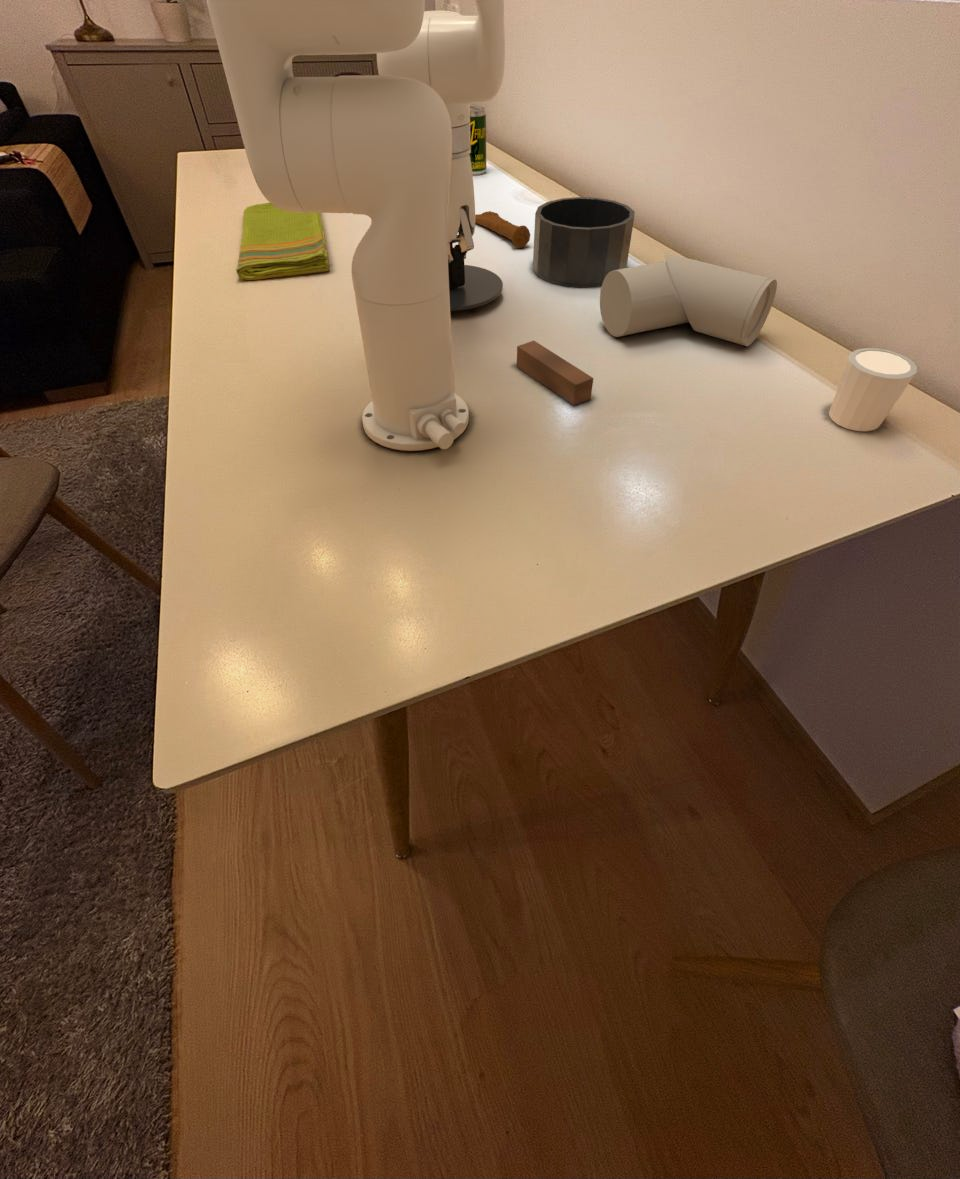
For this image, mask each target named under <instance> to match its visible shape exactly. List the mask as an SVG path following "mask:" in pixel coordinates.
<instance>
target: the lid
mask: <svg viewBox="0 0 960 1179" xmlns="http://www.w3.org/2000/svg"><path fill="white" fill-rule="evenodd" d="M464 268H465V284H464V286H461V287H457V288H454V289H450V290H449V295H450V312H456V311H465V310H470V309H474V308H479V307H482V306H484V305H486V304H489V303H491V302H492V301H495V300H496V299H497V298H498V297H499V296H500V295H501V294H502V292H503V289H504V284H503V280H502V278H501V277H500V276H499V275H498V274H497V273H495V272H493V271H491V270H489V269H487V268H484V267H480V266H475V265H468V264H464Z"/></svg>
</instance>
